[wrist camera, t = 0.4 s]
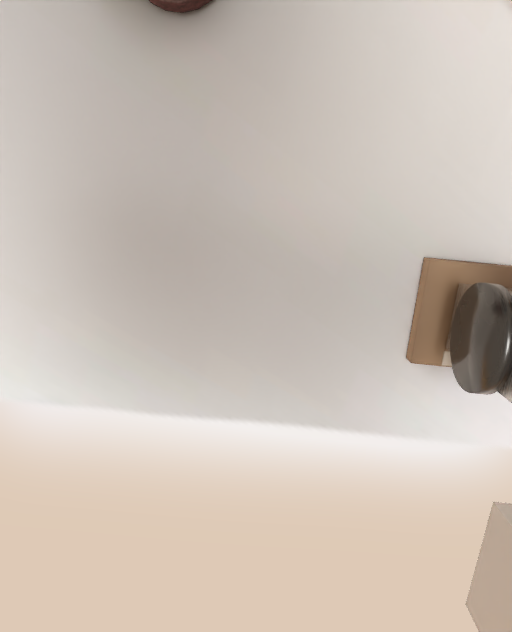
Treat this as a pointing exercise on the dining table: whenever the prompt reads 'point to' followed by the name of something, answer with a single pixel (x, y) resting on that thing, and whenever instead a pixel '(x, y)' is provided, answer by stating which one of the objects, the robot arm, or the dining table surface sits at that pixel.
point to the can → (180, 4)
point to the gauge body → (444, 304)
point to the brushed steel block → (482, 339)
